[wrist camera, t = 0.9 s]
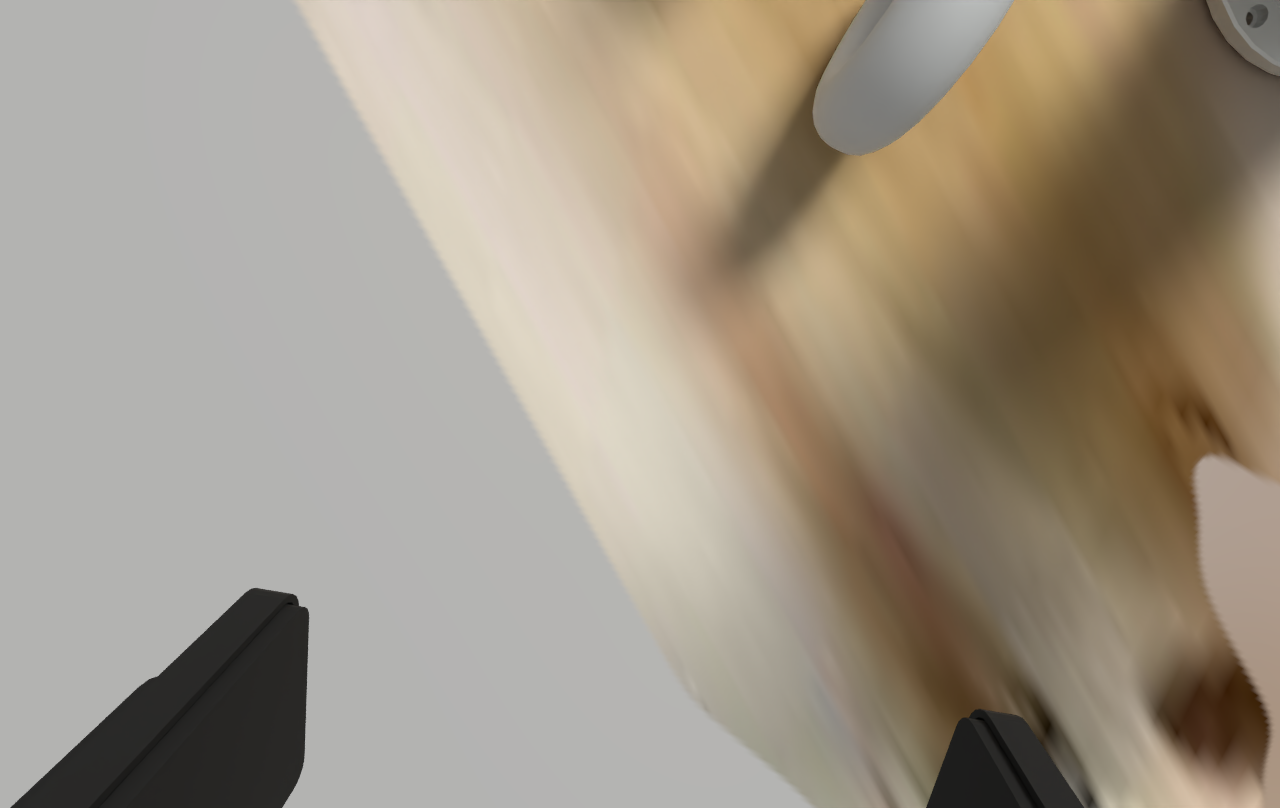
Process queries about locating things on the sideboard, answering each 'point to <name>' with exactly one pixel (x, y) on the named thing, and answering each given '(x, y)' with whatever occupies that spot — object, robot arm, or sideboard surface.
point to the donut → (898, 67)
